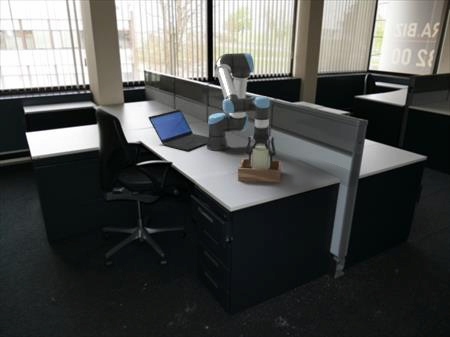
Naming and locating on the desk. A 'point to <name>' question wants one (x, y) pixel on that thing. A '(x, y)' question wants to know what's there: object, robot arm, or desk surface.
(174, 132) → the laptop
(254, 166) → the can
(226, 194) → the desk surface
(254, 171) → the walled box
